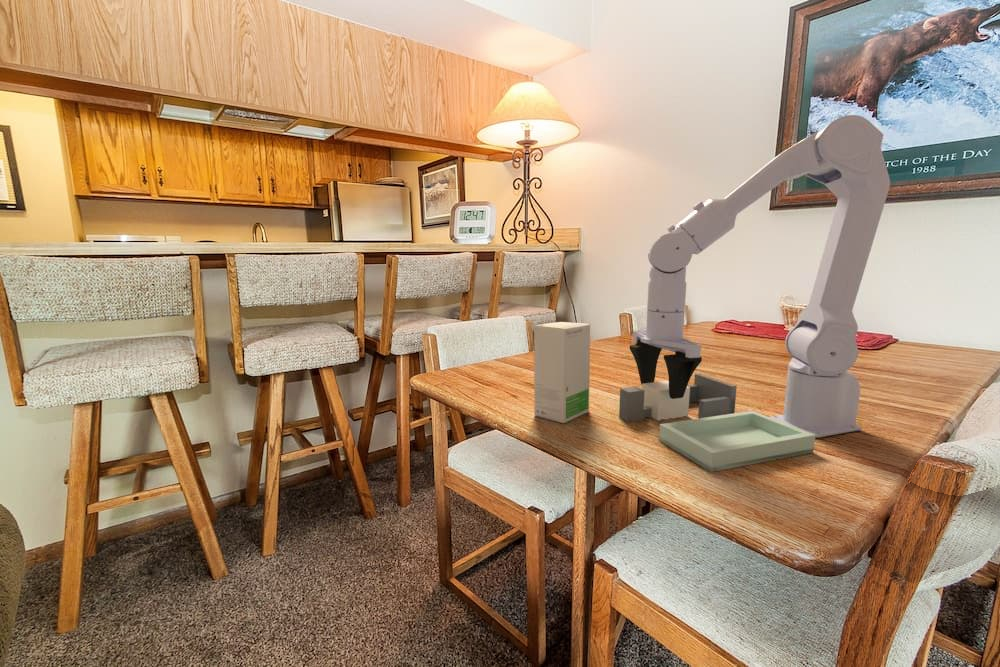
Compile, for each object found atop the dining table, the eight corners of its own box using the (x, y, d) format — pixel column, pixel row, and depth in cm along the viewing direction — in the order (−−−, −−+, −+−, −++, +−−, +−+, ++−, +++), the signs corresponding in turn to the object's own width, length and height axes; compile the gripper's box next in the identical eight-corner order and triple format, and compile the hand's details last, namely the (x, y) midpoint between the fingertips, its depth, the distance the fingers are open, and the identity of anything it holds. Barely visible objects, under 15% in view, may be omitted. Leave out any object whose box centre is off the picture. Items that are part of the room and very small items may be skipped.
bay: (697, 399, 81) (699, 373, 80) (734, 414, 73) (736, 385, 72) (668, 403, 79) (669, 376, 78) (702, 419, 71) (704, 389, 70)
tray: (751, 425, 68) (752, 410, 67) (813, 452, 58) (815, 434, 58) (659, 440, 63) (659, 424, 63) (710, 472, 54) (712, 453, 53)
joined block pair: (670, 407, 77) (671, 380, 76) (688, 416, 72) (689, 387, 72) (615, 414, 74) (616, 386, 73) (631, 424, 69) (632, 394, 68)
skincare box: (563, 425, 69) (564, 329, 67) (531, 415, 74) (530, 325, 71) (590, 411, 76) (592, 322, 73) (559, 403, 80) (560, 319, 77)
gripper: (619, 306, 76) (616, 381, 79) (675, 317, 63) (669, 407, 65) (653, 305, 78) (649, 378, 81) (714, 314, 65) (708, 402, 67)
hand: (661, 390), depth 73 cm, fingers open, 7 cm apart
